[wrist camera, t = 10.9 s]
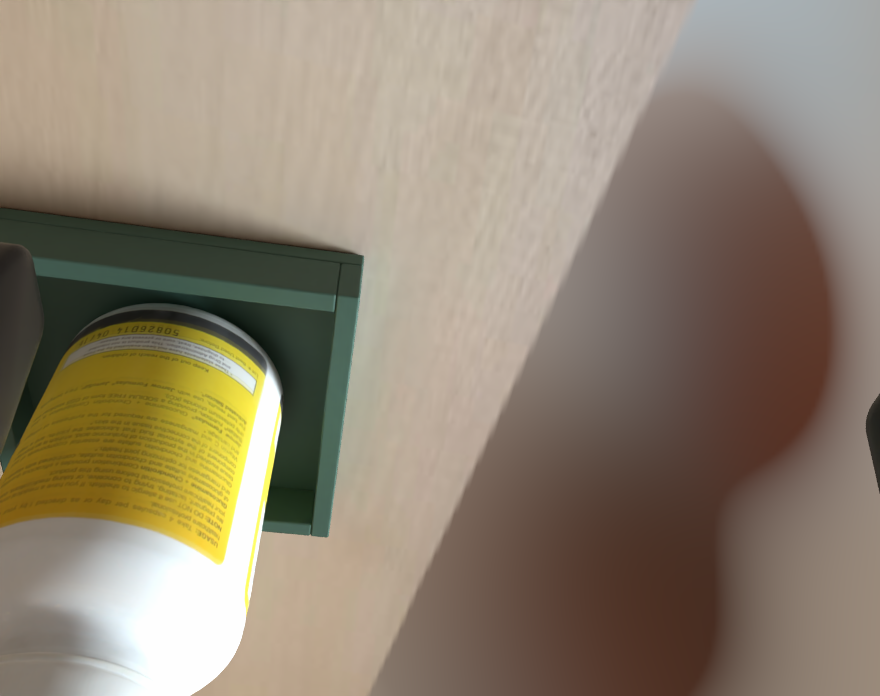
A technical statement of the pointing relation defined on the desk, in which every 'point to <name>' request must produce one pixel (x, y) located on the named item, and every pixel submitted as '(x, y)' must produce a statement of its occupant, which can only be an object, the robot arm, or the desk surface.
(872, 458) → the robot arm
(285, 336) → the tray
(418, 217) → the desk surface
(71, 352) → the pill bottle
